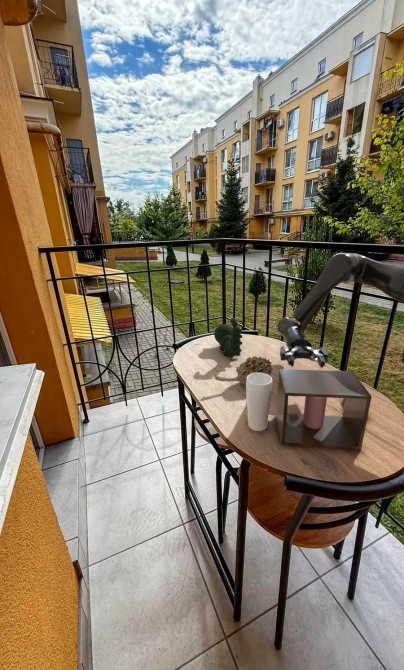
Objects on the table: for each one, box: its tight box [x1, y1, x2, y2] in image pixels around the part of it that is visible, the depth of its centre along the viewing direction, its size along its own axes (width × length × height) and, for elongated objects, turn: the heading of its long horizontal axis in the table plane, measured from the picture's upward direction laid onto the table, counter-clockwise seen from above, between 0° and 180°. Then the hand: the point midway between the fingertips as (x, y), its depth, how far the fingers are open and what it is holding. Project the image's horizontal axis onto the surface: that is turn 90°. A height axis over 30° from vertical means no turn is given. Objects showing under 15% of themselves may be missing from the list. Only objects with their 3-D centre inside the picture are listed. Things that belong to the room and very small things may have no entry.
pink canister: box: [303, 396, 328, 429], centre depth 75 cm, size 5×5×10 cm
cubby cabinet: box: [275, 368, 373, 452], centre depth 72 cm, size 19×12×15 cm, turn 82°
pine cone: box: [213, 355, 273, 386], centre depth 97 cm, size 22×10×10 cm, turn 113°
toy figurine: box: [213, 317, 244, 358], centre depth 124 cm, size 9×19×25 cm
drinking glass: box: [245, 373, 273, 432], centre depth 75 cm, size 7×7×15 cm
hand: (307, 364), depth 84 cm, fingers open, 8 cm apart
